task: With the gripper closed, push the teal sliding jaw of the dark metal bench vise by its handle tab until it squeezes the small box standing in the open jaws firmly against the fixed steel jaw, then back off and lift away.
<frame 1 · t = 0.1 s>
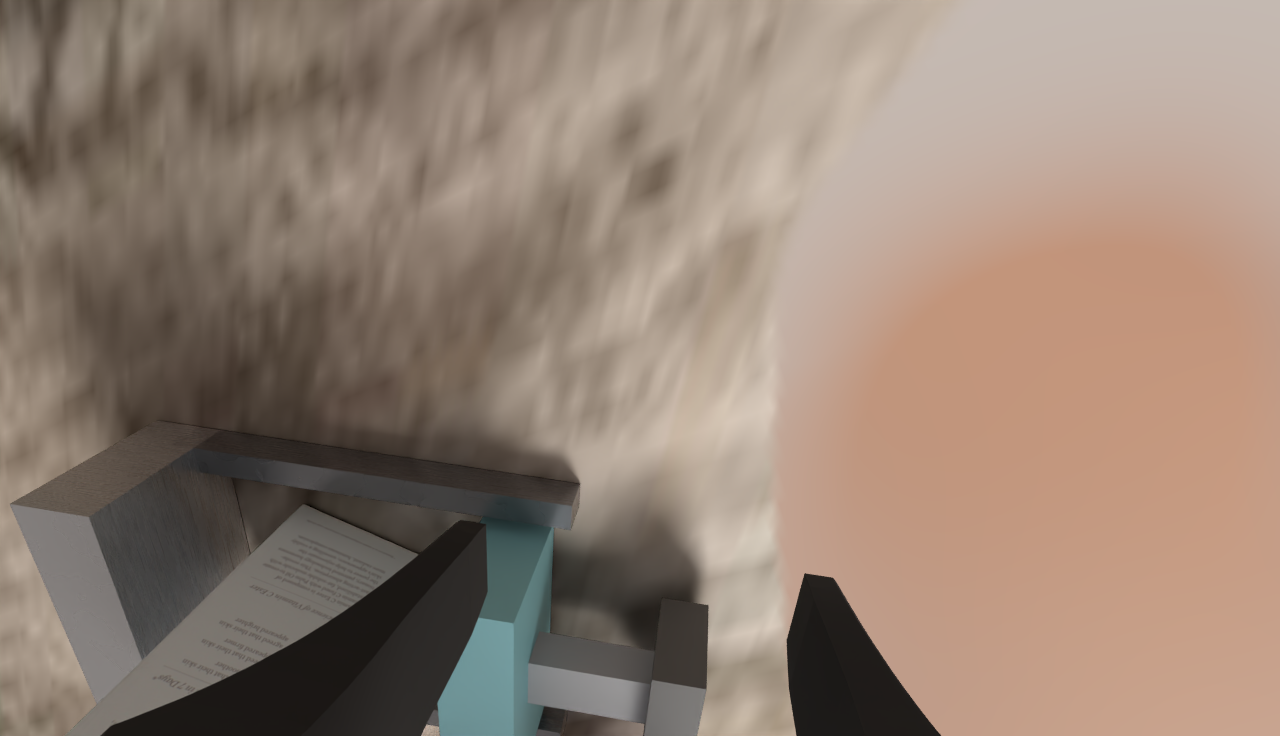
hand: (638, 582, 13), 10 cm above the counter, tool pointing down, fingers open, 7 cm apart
sliding jaw: (579, 673, 25), point 3 cm above the counter, slide at -4.0 cm
vise: (369, 581, 29), on the counter
small box: (371, 577, 29), resting in vise
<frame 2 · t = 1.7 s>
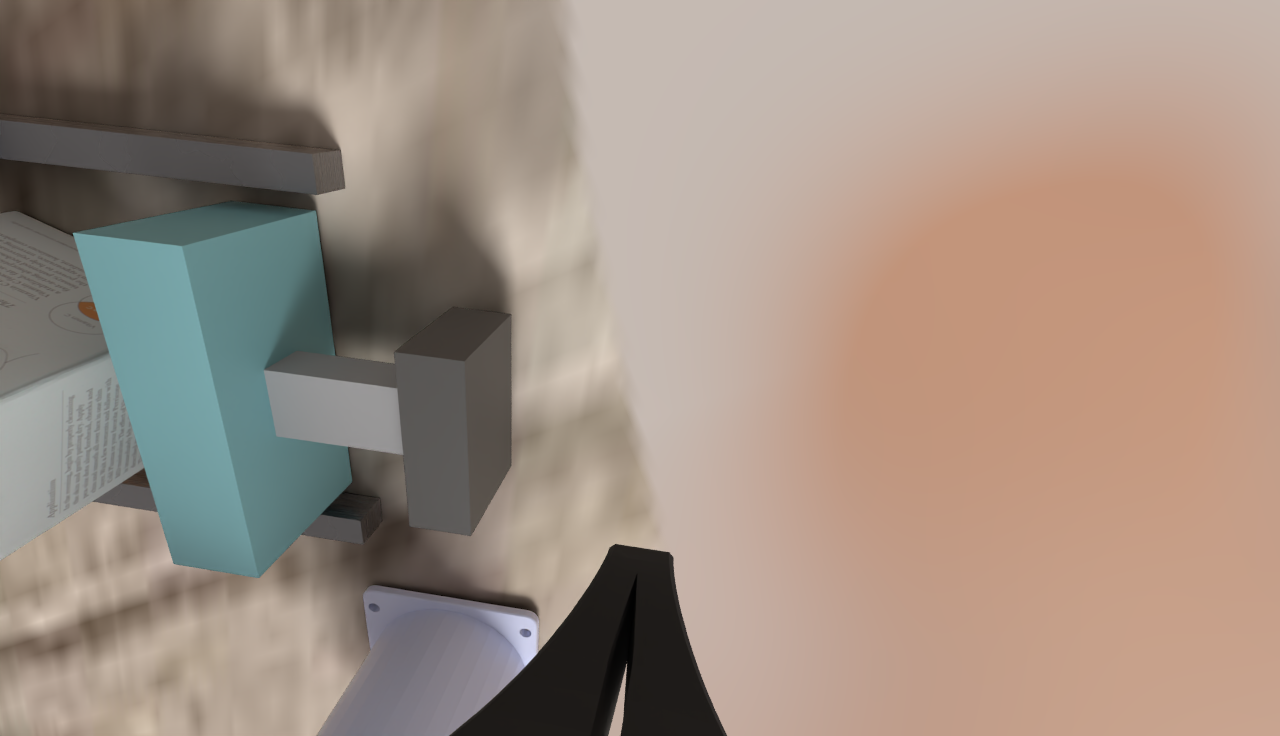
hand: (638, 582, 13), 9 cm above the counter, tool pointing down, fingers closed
sliding jaw: (345, 400, 20), point 3 cm above the counter, slide at -4.0 cm
vise: (118, 328, 23), on the counter
small box: (124, 325, 23), resting in vise
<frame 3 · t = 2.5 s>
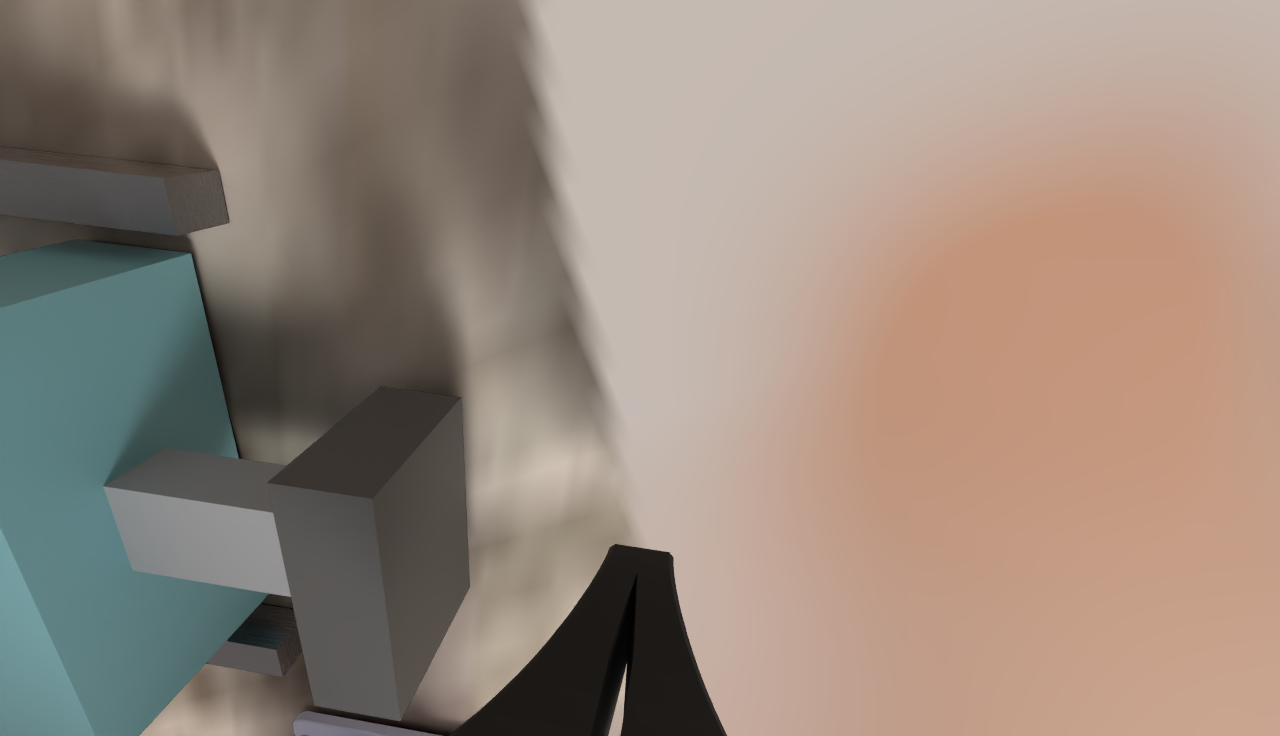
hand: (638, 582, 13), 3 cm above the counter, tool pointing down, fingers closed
sliding jaw: (229, 519, 14), point 3 cm above the counter, slide at -4.0 cm
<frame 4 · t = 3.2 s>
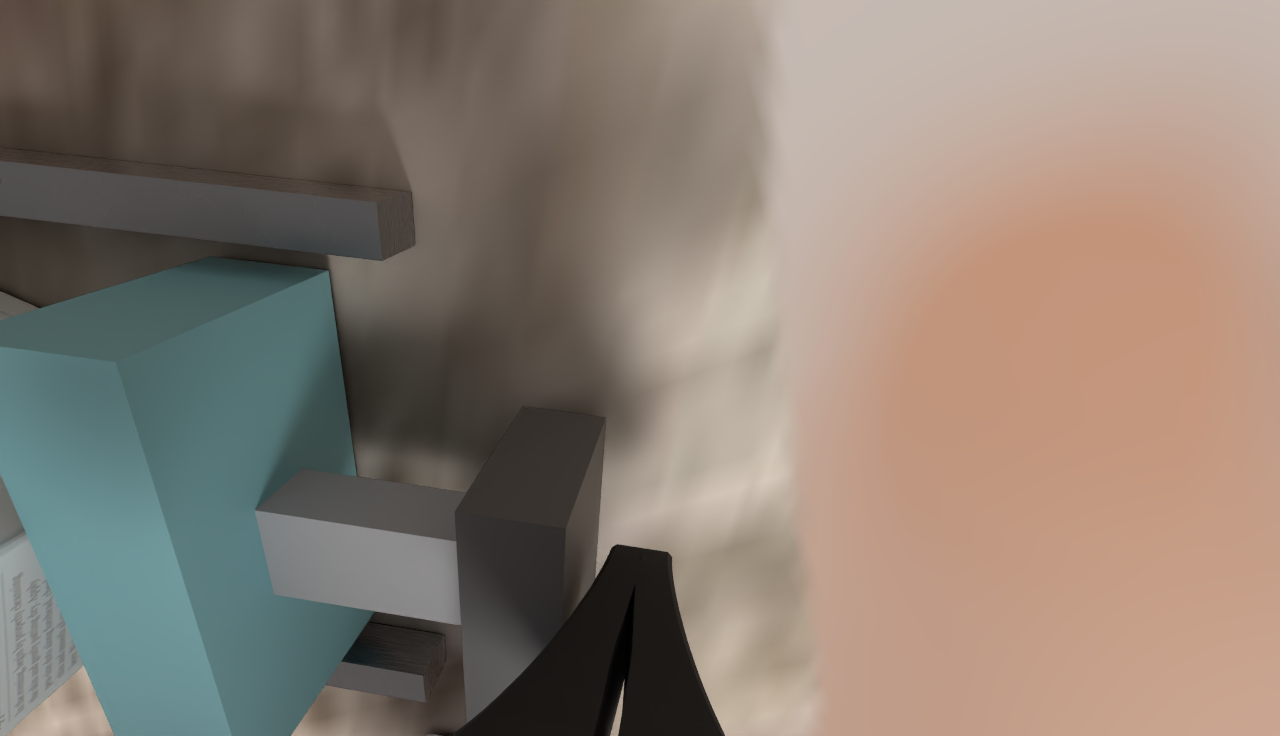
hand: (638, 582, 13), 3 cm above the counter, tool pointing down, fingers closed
sliding jaw: (371, 541, 14), point 3 cm above the counter, slide at -2.9 cm, touching gripper
vise: (99, 422, 17), on the counter
small box: (107, 418, 17), resting in vise
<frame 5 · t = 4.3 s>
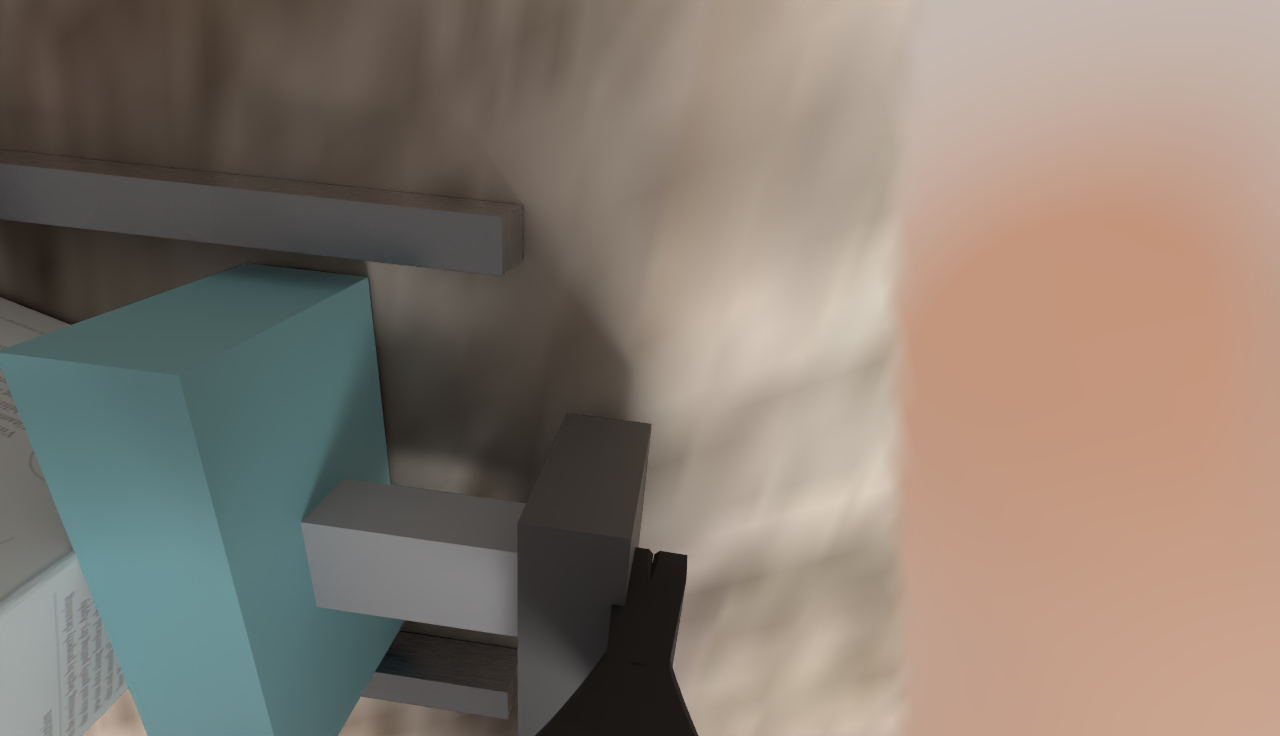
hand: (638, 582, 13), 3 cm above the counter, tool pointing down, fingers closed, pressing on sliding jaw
sliding jaw: (415, 552, 14), point 3 cm above the counter, slide at -1.3 cm, touching gripper, small box
vise: (175, 439, 17), on the counter
small box: (138, 434, 17), resting in vise, touching sliding jaw
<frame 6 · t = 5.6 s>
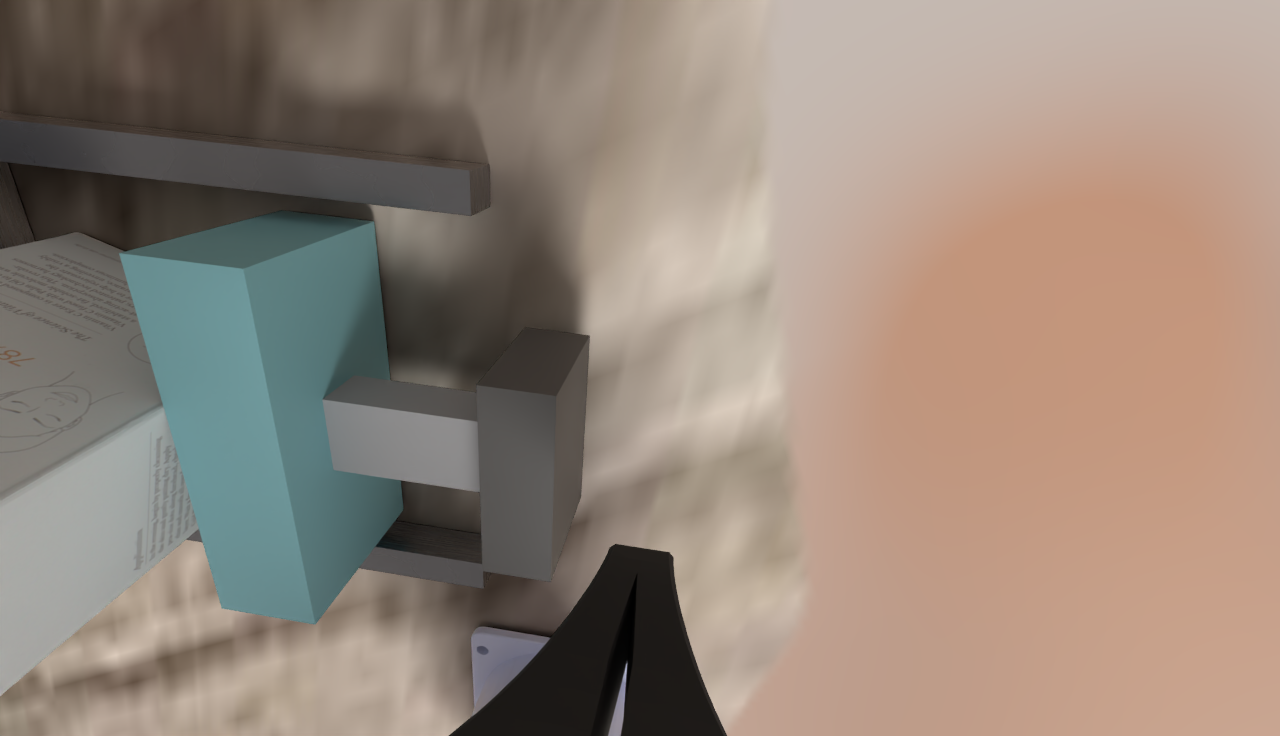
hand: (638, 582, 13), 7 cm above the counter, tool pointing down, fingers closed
sliding jaw: (408, 430, 18), point 3 cm above the counter, slide at -1.4 cm
vise: (221, 355, 21), on the counter
small box: (193, 351, 22), resting in vise
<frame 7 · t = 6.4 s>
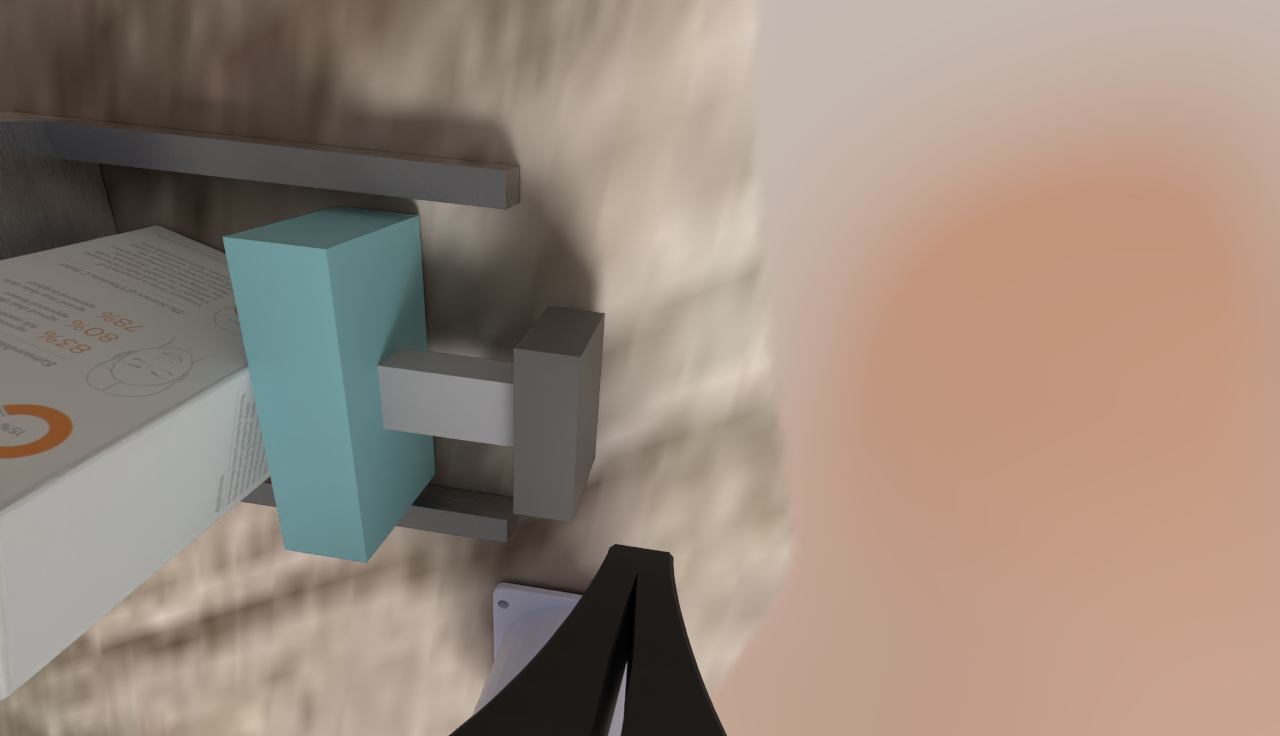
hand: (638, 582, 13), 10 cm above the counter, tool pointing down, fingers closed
sliding jaw: (448, 394, 21), point 3 cm above the counter, slide at -1.4 cm
vise: (277, 334, 24), on the counter
small box: (252, 331, 24), resting in vise
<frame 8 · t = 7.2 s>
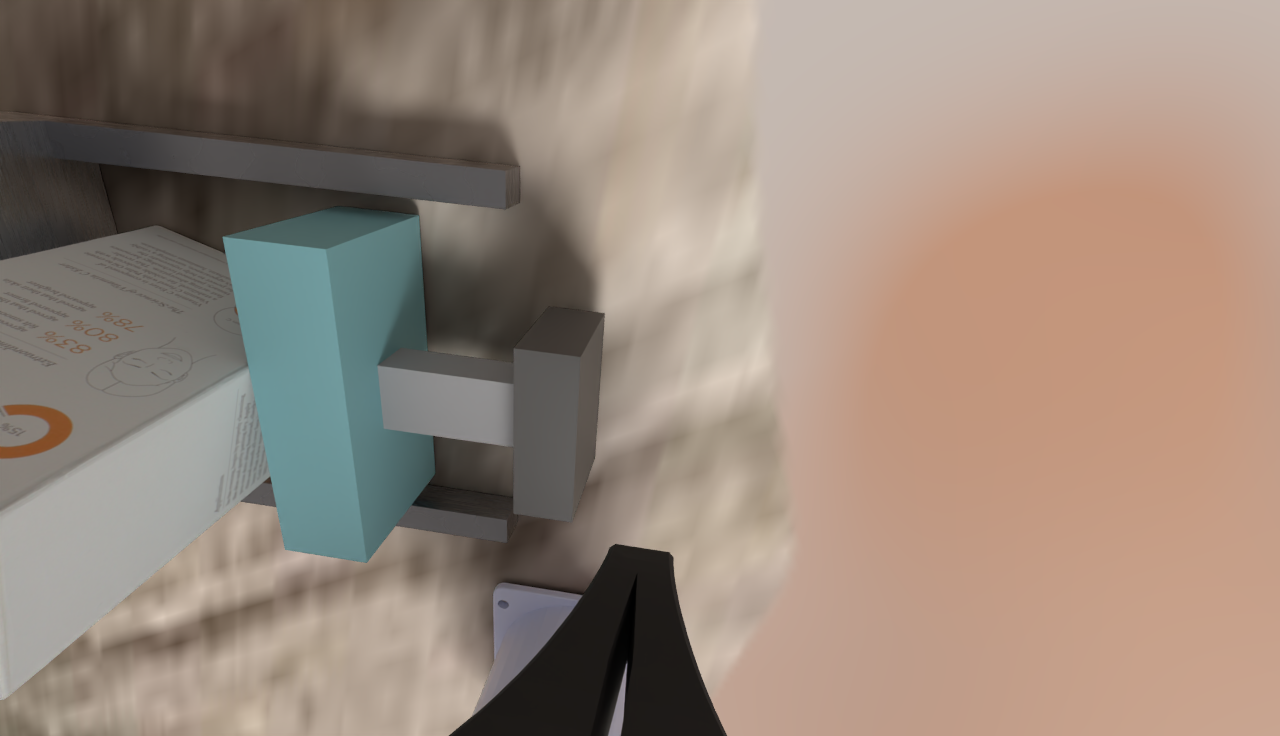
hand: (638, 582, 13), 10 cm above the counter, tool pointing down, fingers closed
sliding jaw: (448, 394, 21), point 3 cm above the counter, slide at -1.4 cm
vise: (277, 334, 24), on the counter
small box: (252, 331, 24), resting in vise
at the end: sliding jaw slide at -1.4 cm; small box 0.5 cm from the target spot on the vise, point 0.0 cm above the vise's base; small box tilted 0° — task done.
